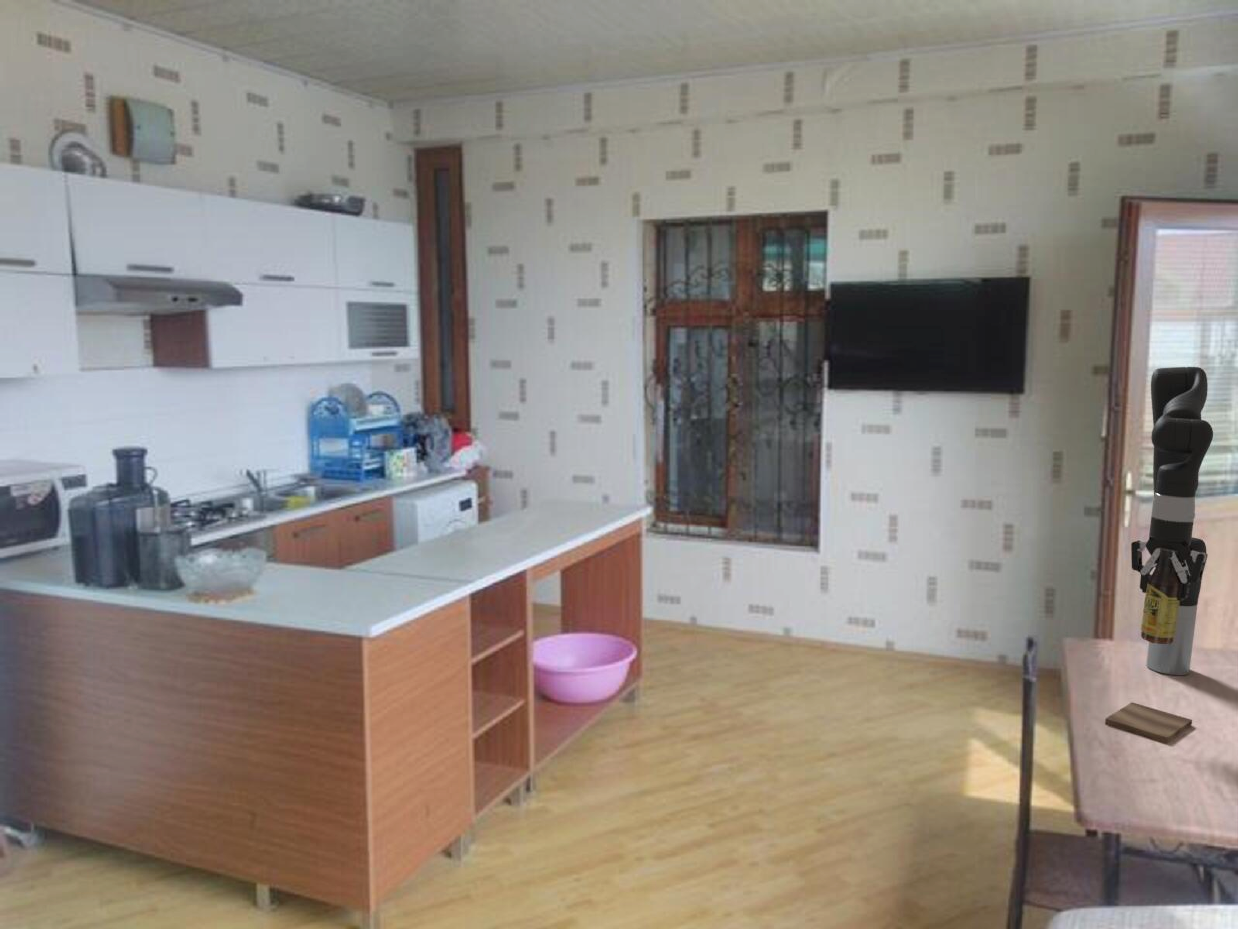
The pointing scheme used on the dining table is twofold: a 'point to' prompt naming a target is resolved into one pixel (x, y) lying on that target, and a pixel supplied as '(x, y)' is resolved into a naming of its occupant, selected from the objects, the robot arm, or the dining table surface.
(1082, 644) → the dining table surface
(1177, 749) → the dining table surface
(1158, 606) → the sauce bottle
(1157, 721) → the walnut board
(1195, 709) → the dining table surface
